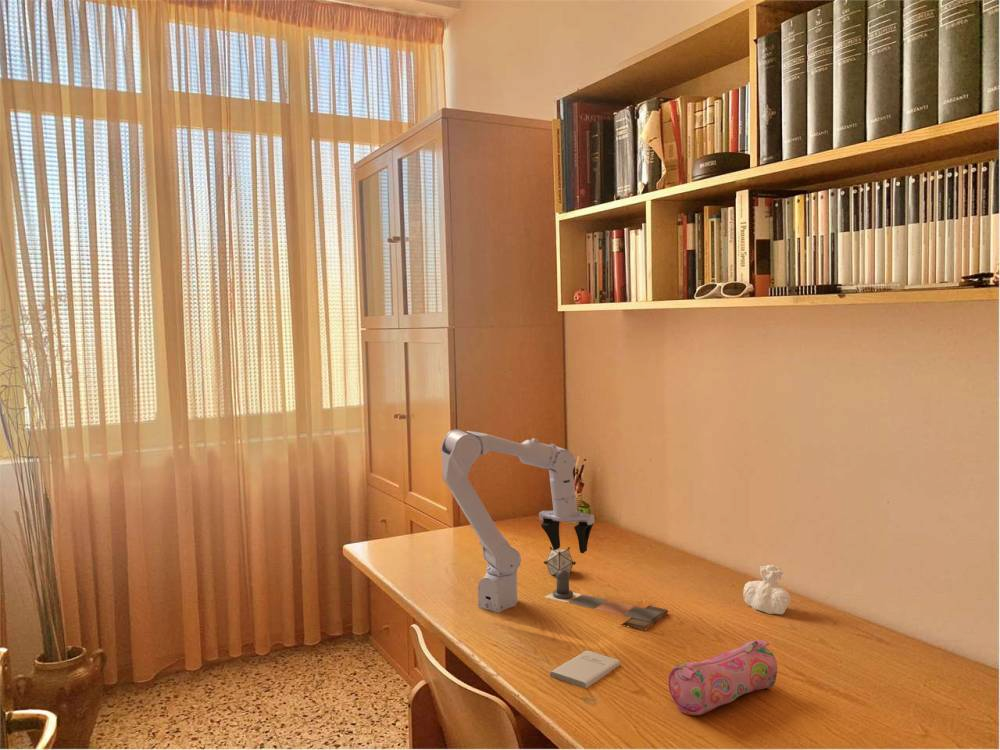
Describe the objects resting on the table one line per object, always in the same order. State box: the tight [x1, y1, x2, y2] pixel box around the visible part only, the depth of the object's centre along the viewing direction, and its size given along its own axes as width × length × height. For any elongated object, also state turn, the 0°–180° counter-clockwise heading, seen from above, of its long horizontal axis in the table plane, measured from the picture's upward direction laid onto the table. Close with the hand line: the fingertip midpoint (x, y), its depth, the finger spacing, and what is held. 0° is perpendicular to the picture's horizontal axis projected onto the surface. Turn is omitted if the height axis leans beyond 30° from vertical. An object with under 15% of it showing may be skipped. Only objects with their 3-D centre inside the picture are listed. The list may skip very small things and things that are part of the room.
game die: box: [543, 546, 577, 577], centre depth 209 cm, size 9×8×10 cm
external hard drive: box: [549, 650, 621, 689], centre depth 155 cm, size 2×8×12 cm
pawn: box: [553, 569, 574, 599], centre depth 192 cm, size 5×5×6 cm
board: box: [544, 592, 669, 631], centre depth 186 cm, size 12×28×1 cm, turn 54°
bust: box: [743, 564, 792, 615], centre depth 185 cm, size 12×8×11 cm
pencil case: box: [667, 639, 778, 716], centre depth 142 cm, size 21×9×9 cm, turn 123°
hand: (570, 550), depth 194 cm, fingers open, 7 cm apart
